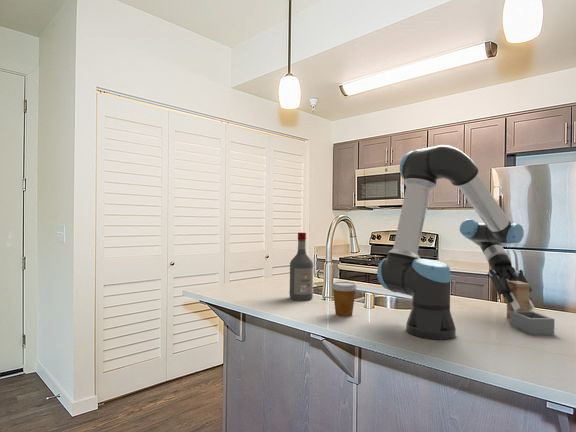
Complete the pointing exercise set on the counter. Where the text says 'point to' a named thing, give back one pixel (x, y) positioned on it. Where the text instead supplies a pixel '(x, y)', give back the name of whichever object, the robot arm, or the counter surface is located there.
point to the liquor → (301, 273)
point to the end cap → (531, 322)
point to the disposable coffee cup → (344, 298)
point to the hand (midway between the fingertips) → (524, 309)
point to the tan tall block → (519, 295)
